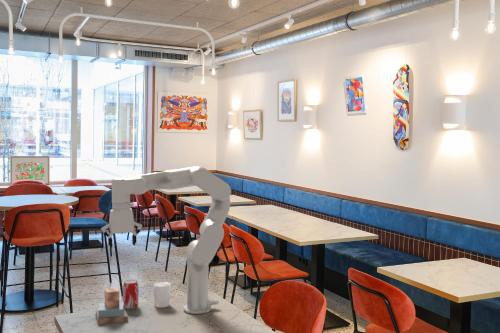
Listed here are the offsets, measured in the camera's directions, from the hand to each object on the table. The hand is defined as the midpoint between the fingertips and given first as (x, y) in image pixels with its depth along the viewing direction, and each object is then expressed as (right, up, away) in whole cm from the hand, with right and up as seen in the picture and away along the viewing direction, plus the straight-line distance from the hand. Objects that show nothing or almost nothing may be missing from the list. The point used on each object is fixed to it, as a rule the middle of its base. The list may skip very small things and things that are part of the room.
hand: (122, 245), depth 225 cm
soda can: (0, -30, +13) cm, 33 cm away
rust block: (-4, -26, -2) cm, 26 cm away
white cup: (+14, -30, +16) cm, 37 cm away
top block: (-4, -29, -2) cm, 29 cm away
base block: (-4, -32, -2) cm, 32 cm away
